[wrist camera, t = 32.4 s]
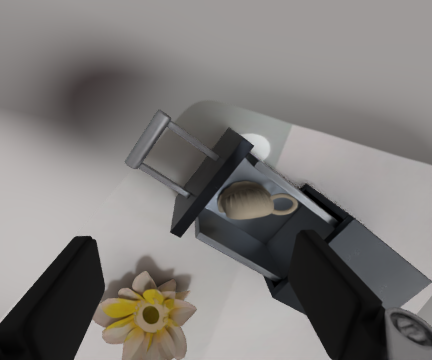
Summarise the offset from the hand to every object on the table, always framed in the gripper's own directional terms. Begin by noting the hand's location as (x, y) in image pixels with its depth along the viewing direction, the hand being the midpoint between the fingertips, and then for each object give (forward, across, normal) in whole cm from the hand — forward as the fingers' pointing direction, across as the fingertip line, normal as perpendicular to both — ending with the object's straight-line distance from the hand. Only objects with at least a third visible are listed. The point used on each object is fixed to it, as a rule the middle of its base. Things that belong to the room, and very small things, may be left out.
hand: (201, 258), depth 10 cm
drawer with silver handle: (+17, -4, +3) cm, 18 cm away
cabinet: (+18, -19, +13) cm, 30 cm away
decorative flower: (+18, +7, +23) cm, 30 cm away
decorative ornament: (+16, -7, +4) cm, 18 cm away
